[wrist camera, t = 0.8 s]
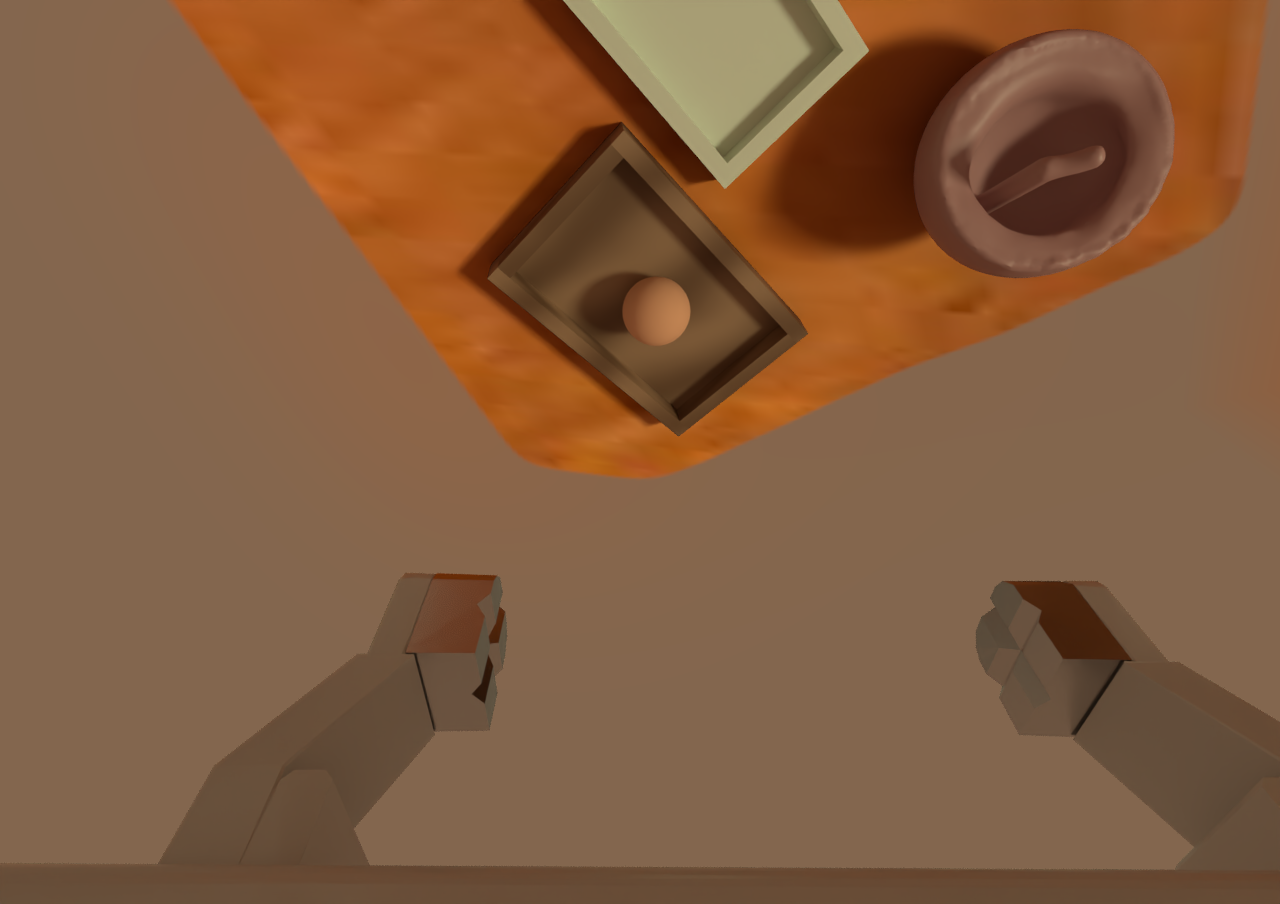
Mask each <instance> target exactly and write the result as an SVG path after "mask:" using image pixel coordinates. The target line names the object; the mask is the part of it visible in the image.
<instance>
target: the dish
mask: <svg viewBox="0 0 1280 904" xmlns="http://www.w3.org/2000/svg"><path fill="white" fill-rule="evenodd" d="M655 276H658V277H665V278H668V279H670V280H672V281H674V282H676V283H677V284H678V285H679V286H680V287H681V288H682V289H683V290H684V292H685V293H686V295H687V297H688V300H689V303H690V319H689V322H688V325H687V327H686V329H685V331H684V332H683V333H682V335H681V336H679V337H678V338H677V339H676V340H675V341H673V342H671V343H669V344H666V345H662V346H651V345H647V344H644V343H641V342H640V341H638V340H637V339H635V338H634V337H633V336H632V335H631V334H630V333H629V331H628V330H627V328H626V326H625V323H624V320H623V313H622V310H623V303H624V300H625V297H626V295H627V293H628V292H629V290H630V289H631V288H632V287H633V286H634V285H635V284H636V283H637V282H639V281H641V280H643V279H645V278H648V277H655ZM487 279H488V280H490V281H491V282H492V283H493V284H494V285H496V286H497V287H498V288H499V289H500V290H502V291H503V292H504V293H505V294H506V295H508V296H509V297H510V298H511V299H513V300H514V301H515V302H516V303H517V304H519V305H520V306H521V307H522V308H523V309H525V310H526V311H527V312H528V313H529V314H531V315H532V316H533V317H534V318H536V319H537V320H538V321H539V322H540V323H542V324H543V325H544V326H545V327H546V328H548V329H549V330H550V331H551V332H553V333H554V334H555V335H556V336H557V337H559V338H560V339H561V340H562V341H563V342H565V343H566V344H567V345H568V346H569V347H571V348H572V349H573V350H574V351H576V352H577V353H578V354H579V355H580V356H582V357H583V358H584V359H585V360H586V361H588V362H589V363H590V364H591V365H592V366H594V367H595V368H596V369H597V370H599V371H600V372H601V373H602V374H603V375H605V376H606V377H607V378H608V379H609V380H611V381H612V382H613V383H614V384H616V385H617V386H618V387H619V388H620V389H622V390H623V391H624V392H625V393H626V394H628V395H629V396H630V397H631V398H632V399H634V400H635V401H636V402H637V403H639V404H640V405H641V406H642V407H643V408H645V409H646V410H647V411H648V412H649V413H651V414H652V415H653V416H654V417H655V418H657V419H658V420H659V421H660V422H662V423H663V424H664V425H665V426H666V427H668V428H669V429H670V430H671V431H672V432H674V433H675V434H676V435H677V436H680V435H681V434H682V433H684V432H685V431H686V430H687V429H689V428H690V427H691V426H692V425H694V424H695V423H696V422H698V421H699V420H700V419H701V418H703V417H704V416H705V415H706V414H708V413H709V412H710V411H711V410H713V409H714V408H715V407H716V406H718V405H719V404H720V403H721V402H723V401H724V400H725V399H727V398H728V397H729V396H730V395H732V394H733V393H734V392H735V391H737V390H738V389H739V388H740V387H742V386H743V385H744V384H745V383H747V382H748V381H749V380H750V379H752V378H753V377H754V376H755V375H757V374H758V373H759V372H761V371H762V370H763V369H764V368H766V367H767V366H768V365H769V364H771V363H772V362H773V361H774V360H776V359H777V358H778V357H779V356H781V355H782V354H783V353H784V352H786V351H787V350H788V349H789V348H791V347H792V346H793V345H795V344H796V343H797V342H798V341H800V340H801V339H802V338H803V337H805V336H806V335H807V334H808V333H807V331H806V329H805V328H804V326H803V324H802V322H801V321H800V319H799V318H798V317H797V316H796V315H795V314H794V312H793V311H792V310H791V309H790V308H789V307H788V306H787V305H786V304H785V302H784V301H783V300H782V299H781V298H780V297H779V296H778V295H777V294H776V292H775V291H774V290H773V289H772V288H771V287H770V286H769V285H768V284H767V282H766V281H765V280H764V279H763V278H762V277H761V276H760V275H759V274H758V273H757V271H756V270H755V269H754V268H753V267H752V266H751V265H750V264H749V263H748V261H747V260H746V259H745V258H744V257H743V256H742V255H741V254H740V253H739V251H738V250H737V249H736V248H735V247H734V246H733V245H732V244H731V243H730V241H729V240H728V239H727V238H726V237H725V236H724V235H723V234H722V233H721V231H720V230H719V229H718V228H717V227H716V226H715V225H714V224H713V223H712V222H711V220H710V219H709V218H708V217H707V216H706V215H705V214H704V213H703V212H702V210H701V209H700V208H699V207H698V206H697V205H696V204H695V203H694V202H693V200H692V199H691V198H690V197H689V196H688V195H687V194H686V193H685V192H684V190H683V189H682V188H681V187H680V186H679V185H678V184H677V183H676V182H675V180H674V179H673V178H672V177H671V176H670V175H669V174H668V173H667V172H666V170H665V169H664V168H663V167H662V166H661V165H660V164H659V163H658V162H657V161H656V159H655V158H654V157H653V156H652V155H651V154H650V153H649V152H648V151H647V149H646V148H645V147H644V146H643V145H642V144H641V143H640V142H639V141H638V139H637V138H636V137H635V136H634V135H633V134H632V133H631V132H630V131H629V129H628V128H627V127H626V126H625V125H624V124H623V123H622V122H621V123H620V124H619V125H618V126H617V128H616V129H615V130H614V131H613V132H612V133H611V134H610V135H609V136H608V137H607V139H606V140H605V141H604V142H603V143H602V144H601V145H600V146H599V147H598V148H597V149H596V151H595V152H594V153H593V154H592V155H591V156H590V157H589V158H588V159H587V160H586V161H585V163H584V164H583V165H582V166H581V167H580V168H579V169H578V170H577V171H576V172H575V174H574V175H573V176H572V177H571V178H570V179H569V180H568V181H567V182H566V183H565V184H564V186H563V187H562V188H561V189H560V190H559V191H558V192H557V193H556V194H555V195H554V196H553V198H552V199H551V200H550V201H549V202H548V203H547V204H546V205H545V206H544V207H543V209H542V210H541V211H540V212H539V213H538V214H537V215H536V216H535V217H534V218H533V219H532V221H531V222H530V223H529V224H528V225H527V226H526V227H525V228H524V229H523V230H522V231H521V233H520V234H519V235H518V236H517V237H516V238H515V239H514V240H513V241H512V242H511V244H510V245H509V246H508V247H507V248H506V249H505V250H504V251H503V252H502V253H501V254H500V256H499V257H498V258H497V259H496V260H495V261H494V262H493V263H492V264H491V267H490V270H489V274H488V278H487Z"/></svg>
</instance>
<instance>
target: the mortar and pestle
mask: <svg viewBox="0 0 1280 904" xmlns="http://www.w3.org/2000/svg"><path fill="white" fill-rule="evenodd" d="M1173 149H1174V118H1173V114H1172V109H1171V103H1170V101H1169V98H1168V94H1167V91H1166V88H1165V86H1164V84H1163V82H1162V80H1161V78H1160V77H1159V75H1158V73H1157V72H1156V70H1155V69H1154V68H1153V67H1152V65H1151V64H1150V63H1149V62H1148V61H1147V60H1146V59H1145V58H1144V57H1143V56H1142V55H1141V54H1140V53H1139V52H1138V51H1136V50H1135V49H1134V48H1132V47H1131V46H1130V45H1128V44H1127V43H1125V42H1124V41H1122V40H1120V39H1117V38H1115V37H1113V36H1110V35H1107V34H1104V33H1101V32H1097V31H1091V30H1080V29H1066V30H1056V31H1049V32H1045V33H1040V34H1036V35H1033V36H1030V37H1027V38H1024V39H1021V40H1019V41H1017V42H1014V43H1012V44H1009V45H1007V46H1005V47H1004V48H1002V49H1000V50H998V51H996V52H994V53H993V54H991V55H990V56H988V57H987V58H985V59H984V60H982V61H981V62H979V63H978V64H977V65H975V66H974V67H973V68H972V69H971V70H969V71H968V72H967V73H966V74H965V75H963V77H962V78H961V79H960V80H959V81H958V82H957V83H956V84H955V85H954V86H953V87H952V88H951V89H950V90H949V92H948V93H947V94H946V95H945V97H944V98H943V99H942V100H941V102H940V103H939V105H938V106H937V108H936V110H935V111H934V113H933V114H932V116H931V118H930V120H929V122H928V124H927V126H926V128H925V130H924V133H923V135H922V138H921V141H920V144H919V147H918V150H917V155H916V160H915V167H914V193H915V200H916V204H917V208H918V212H919V214H920V217H921V220H922V222H923V224H924V226H925V228H926V230H927V231H928V233H929V235H930V236H931V237H932V239H933V240H934V241H935V242H936V244H937V245H938V246H939V247H940V248H941V249H942V250H943V251H944V252H945V253H947V254H948V255H949V256H950V257H952V258H953V259H955V260H956V261H958V262H959V263H961V264H963V265H965V266H967V267H969V268H971V269H973V270H976V271H979V272H982V273H985V274H989V275H993V276H1000V277H1009V278H1028V277H1037V276H1043V275H1049V274H1053V273H1057V272H1060V271H1064V270H1067V269H1069V268H1072V267H1075V266H1077V265H1080V264H1082V263H1084V262H1086V261H1088V260H1091V259H1094V258H1096V257H1098V256H1099V255H1101V254H1102V253H1104V252H1105V251H1106V250H1108V249H1109V248H1110V247H1112V246H1113V245H1115V244H1116V243H1118V242H1120V241H1121V240H1123V239H1124V238H1125V237H1126V236H1128V235H1129V233H1130V232H1131V230H1132V229H1133V228H1134V227H1135V226H1136V225H1137V224H1138V223H1139V222H1140V221H1141V220H1142V219H1143V218H1144V217H1145V216H1146V215H1147V214H1148V212H1149V209H1150V207H1151V205H1152V204H1153V203H1154V201H1155V200H1156V198H1157V197H1158V195H1159V193H1160V191H1161V189H1162V186H1163V183H1164V181H1165V179H1166V177H1167V174H1168V172H1169V169H1170V167H1171V164H1172V160H1173Z"/></svg>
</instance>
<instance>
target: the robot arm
mask: <svg viewBox="0 0 1280 904" xmlns="http://www.w3.org/2000/svg"><path fill="white" fill-rule="evenodd" d="M501 597H502V587H501V580H500V577H499V576H495V575H470V574H441V573H438V574H424V573H423V574H422V573H405V574H404V575H403V576H402V577H401V578H400V579H399V581H398V583H397V585H396V588H395V590H394V593H393V595H392V598H391V599H390V602H389V604H388V607H387V609H386V611H385V613H384V616H383V618H382V620H381V623H380V625H379V628H378V630H377V632H376V634H375V637H374V639H373V641H372V644H371V646H370V648H369V651H368V653H367V654H357V655H356V656H354V657H353V658H352V659H350V660H349V661H348V662H346V663H345V664H344V665H343V666H341V667H340V668H339V669H337V670H336V671H335V672H334V673H332V674H331V675H330V676H328V677H327V678H326V679H325V680H323V681H322V682H321V683H320V684H318V685H317V686H316V687H314V688H313V689H312V690H311V691H309V692H308V693H307V694H305V695H304V696H303V697H302V698H300V699H299V700H298V701H296V702H295V703H294V704H293V705H291V706H290V707H289V708H287V709H286V710H285V711H284V712H282V713H281V714H280V715H279V716H277V717H276V718H275V719H273V720H272V721H271V722H270V723H268V724H267V725H266V726H264V727H263V728H262V729H261V730H259V731H258V732H257V733H255V734H254V735H253V736H252V737H250V738H249V739H248V740H246V741H245V742H244V743H243V744H241V745H240V746H239V747H238V748H236V749H235V750H234V751H233V752H231V753H230V754H229V755H227V756H226V757H225V758H223V759H222V760H221V761H220V762H218V763H217V764H216V765H214V767H213V768H212V770H211V772H210V774H209V775H208V777H207V779H206V781H205V782H204V784H203V786H202V788H201V790H200V791H199V793H198V795H197V796H196V798H195V800H194V802H193V803H192V805H191V807H190V809H189V810H188V812H187V814H186V816H185V817H184V819H183V821H182V823H181V825H180V826H179V828H178V830H177V831H176V833H175V835H174V837H173V838H172V840H171V842H170V844H169V845H168V847H167V849H166V851H165V852H164V854H163V856H162V858H161V859H160V861H159V863H158V864H65V863H63V864H61V863H57V864H56V863H49V864H48V863H0V904H1280V722H1279V721H1278V720H1276V719H1274V718H1273V717H1271V716H1269V715H1268V714H1266V713H1264V712H1262V711H1261V710H1259V709H1257V708H1256V707H1254V706H1252V705H1251V704H1249V703H1247V702H1245V701H1244V700H1242V699H1241V698H1239V697H1237V696H1235V695H1234V694H1232V693H1230V692H1229V691H1227V690H1225V689H1224V688H1222V687H1220V686H1219V685H1217V684H1215V683H1213V682H1212V681H1210V680H1208V679H1207V678H1205V677H1203V676H1202V675H1200V674H1198V673H1196V672H1195V671H1193V670H1192V669H1190V668H1188V667H1186V666H1185V665H1183V664H1181V663H1180V662H1169V661H1168V660H1167V659H1166V658H1165V657H1164V655H1163V654H1162V653H1161V652H1160V650H1159V649H1158V648H1157V647H1156V646H1155V644H1154V643H1153V642H1152V641H1151V640H1150V638H1149V637H1148V636H1147V635H1146V634H1145V633H1144V631H1143V630H1142V629H1141V628H1140V626H1139V625H1138V624H1137V623H1136V622H1135V620H1133V618H1132V617H1131V616H1130V615H1129V613H1128V612H1127V611H1126V610H1125V608H1124V607H1123V606H1122V605H1121V604H1120V602H1119V601H1118V600H1117V599H1116V598H1115V597H1114V595H1113V594H1112V593H1111V592H1110V591H1109V589H1108V588H1107V587H1106V586H1104V585H1103V584H1101V583H1099V582H1098V581H1064V582H1061V581H1002V582H1001V583H999V584H998V585H997V586H996V587H995V588H994V590H993V593H992V595H991V597H990V599H991V600H992V602H993V604H994V606H995V608H993V609H992V610H991V611H989V612H988V613H986V614H985V615H984V616H982V617H981V620H980V622H979V625H978V627H977V630H976V649H977V653H978V656H979V660H980V662H981V664H982V666H983V668H984V670H985V672H986V674H987V675H989V676H990V677H991V678H993V679H994V680H995V681H997V682H998V683H999V684H1001V685H1002V690H1001V693H1000V697H999V698H1000V700H1001V702H1002V704H1003V705H1004V707H1005V709H1006V711H1007V713H1008V715H1009V717H1010V718H1011V720H1012V722H1013V724H1014V726H1015V728H1016V730H1017V731H1018V733H1019V735H1036V736H1065V737H1074V741H1075V742H1077V743H1078V744H1079V745H1080V746H1081V747H1082V748H1083V749H1085V750H1086V751H1087V752H1088V753H1089V754H1090V755H1091V756H1092V757H1093V758H1095V759H1096V760H1097V761H1098V762H1099V763H1100V764H1101V765H1103V766H1104V767H1105V768H1106V769H1107V770H1108V771H1109V772H1110V773H1111V774H1113V775H1114V776H1115V777H1116V778H1117V779H1118V780H1119V781H1120V782H1122V783H1123V784H1124V785H1125V786H1126V787H1127V788H1128V789H1129V790H1131V791H1132V792H1133V793H1134V794H1135V795H1136V796H1137V797H1138V798H1140V799H1141V800H1142V801H1143V802H1144V803H1145V804H1146V805H1148V806H1149V807H1150V808H1151V809H1152V810H1153V811H1154V812H1155V813H1157V814H1158V815H1159V816H1160V817H1161V818H1162V819H1163V820H1164V821H1166V822H1167V823H1168V824H1169V825H1170V826H1171V827H1172V828H1173V829H1175V830H1176V831H1177V832H1178V833H1179V834H1181V836H1182V837H1184V838H1185V839H1186V840H1187V841H1188V842H1189V843H1190V844H1191V845H1193V846H1194V848H1193V849H1192V850H1191V851H1190V852H1189V853H1188V854H1187V855H1186V856H1185V857H1184V858H1183V859H1182V860H1181V861H1180V862H1179V863H1178V865H1177V866H1176V869H1175V870H1118V869H1112V870H1111V869H1103V870H1102V869H950V868H947V869H946V868H945V869H944V868H943V869H942V868H755V867H754V868H752V867H751V868H748V867H742V868H741V867H561V866H560V867H559V866H558V867H557V866H554V867H553V866H374V865H373V866H370V865H369V863H368V860H367V858H366V856H365V853H364V851H363V849H362V846H361V844H360V842H359V840H358V837H357V835H356V832H355V830H354V828H355V827H356V826H357V824H358V823H359V822H360V821H361V820H362V819H363V817H364V816H365V815H366V814H367V813H368V812H369V810H370V809H371V808H372V807H373V806H374V805H375V804H376V802H377V801H378V800H379V799H380V798H381V797H382V795H383V794H384V793H385V792H386V791H387V790H388V788H389V787H390V786H391V785H392V784H393V783H394V781H395V780H396V779H397V778H398V777H399V776H400V774H401V773H402V772H403V771H404V770H405V769H406V768H407V766H408V765H409V764H410V763H411V762H412V761H413V760H414V758H415V757H416V756H417V755H418V753H420V751H421V750H422V749H423V748H424V747H425V746H426V744H427V743H428V742H429V741H430V740H431V738H432V737H433V736H434V735H435V733H434V731H479V730H480V731H483V730H490V725H491V720H492V716H493V711H494V706H495V702H496V697H497V687H496V681H495V676H496V675H497V674H498V673H499V672H500V671H501V670H502V668H503V663H504V658H505V651H506V640H507V622H506V614H505V611H504V610H503V609H502V608H500V602H501Z"/></svg>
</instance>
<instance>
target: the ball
mask: <svg viewBox="0 0 1280 904" xmlns="http://www.w3.org/2000/svg"><path fill="white" fill-rule="evenodd" d="M622 313H623V320H624V323H625V326H626V328H627V330H628V331H629V333H630V334H631V335H632V336H633V337H634V338H635V339H637V340H638V341H640V342H641V343H644V344H647V345H651V346H662V345H666V344H669V343H671V342H673V341H675V340H676V339H677V338H678V337H679V336H681V335H682V333H683V332H684V331H685V329H686V327H687V325H688V322H689V319H690V303H689V300H688V297H687V295H686V293H685V292H684V290H683V289H682V288H681V287H680V286H679V285H678V284H677V283H676V282H674V281H672V280H670V279H668V278H665V277H658V276H655V277H648V278H645V279H643V280H641V281H639V282H637V283H636V284H635V285H634V286H633V287H632V288H631V289H630V290H629V292H628V293H627V295H626V297H625V300H624V303H623V310H622Z"/></svg>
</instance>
